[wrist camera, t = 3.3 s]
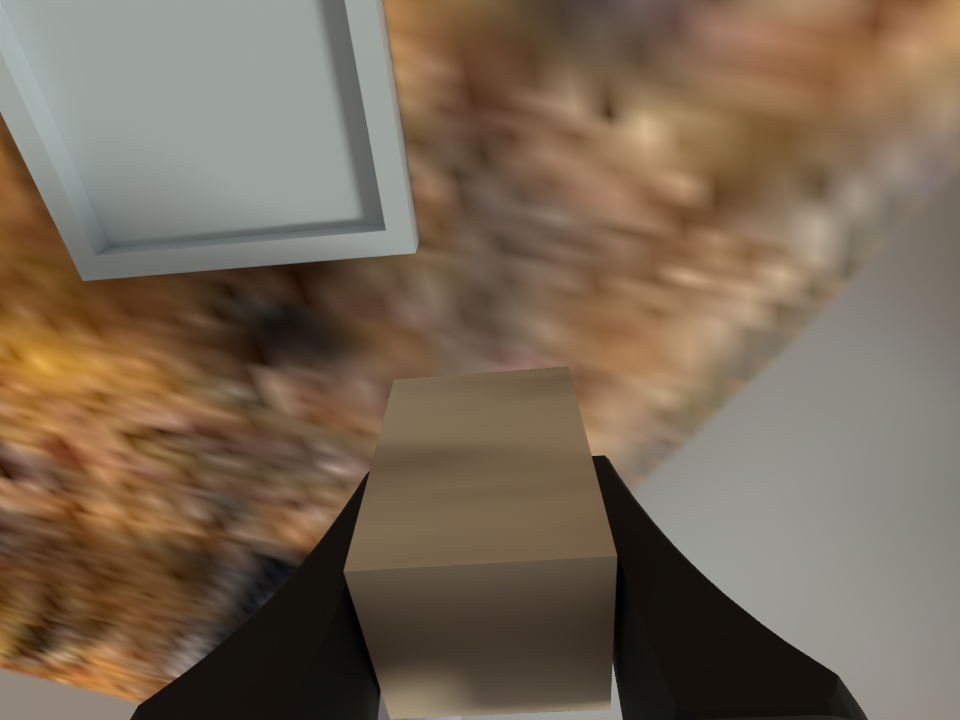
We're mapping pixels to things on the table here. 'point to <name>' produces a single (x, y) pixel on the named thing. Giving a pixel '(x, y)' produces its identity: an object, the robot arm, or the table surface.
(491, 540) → the beech block
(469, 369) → the table surface
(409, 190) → the tray
